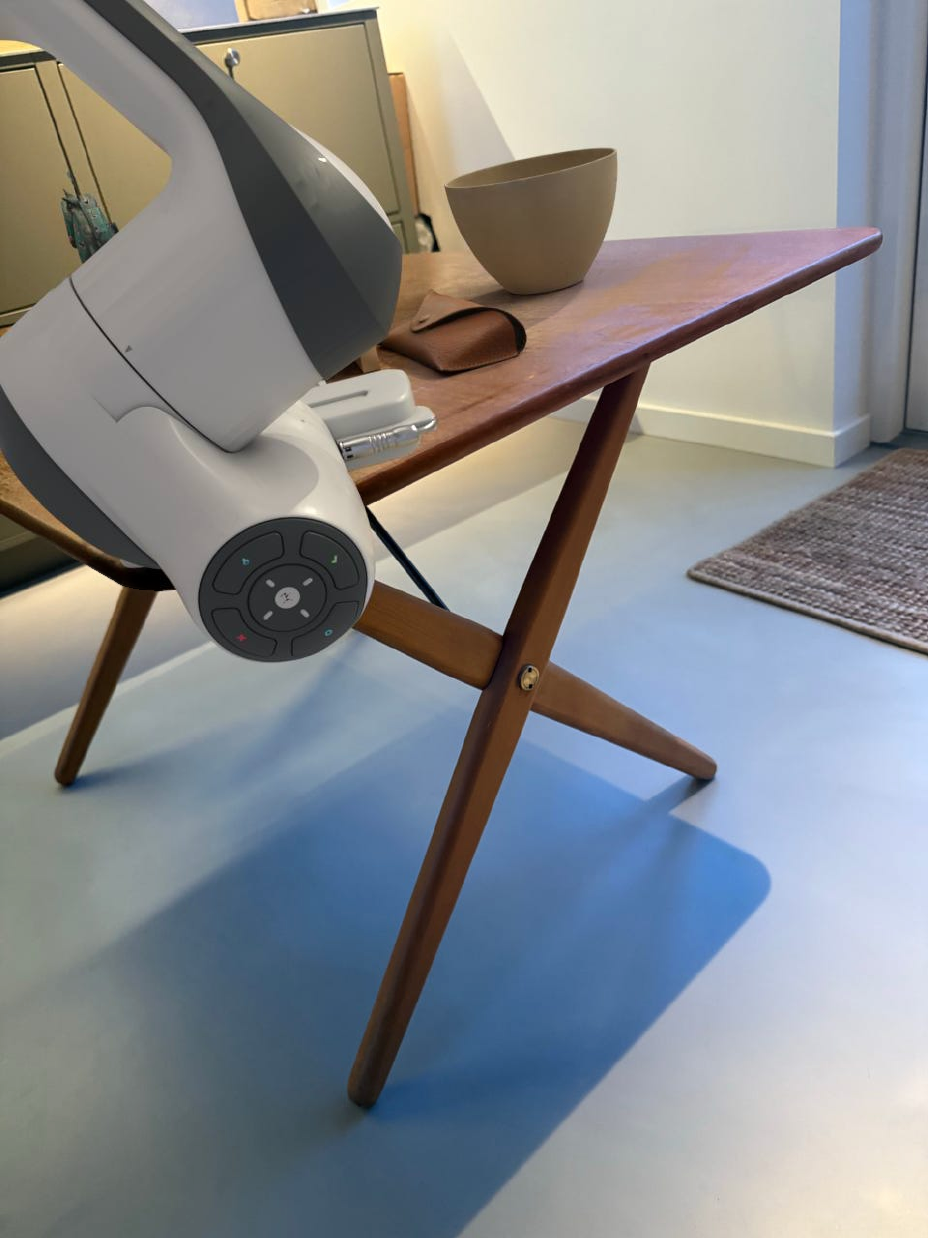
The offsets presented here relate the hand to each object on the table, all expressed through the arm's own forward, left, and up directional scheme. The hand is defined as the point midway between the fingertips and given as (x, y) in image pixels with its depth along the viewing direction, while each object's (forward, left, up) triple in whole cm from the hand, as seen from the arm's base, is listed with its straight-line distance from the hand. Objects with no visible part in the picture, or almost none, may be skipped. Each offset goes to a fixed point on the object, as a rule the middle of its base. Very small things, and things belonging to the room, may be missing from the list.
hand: (247, 411), depth 66 cm
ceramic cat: (-14, +81, -6) cm, 82 cm away
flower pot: (+34, +42, -6) cm, 54 cm away
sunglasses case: (+19, +25, -6) cm, 31 cm away
